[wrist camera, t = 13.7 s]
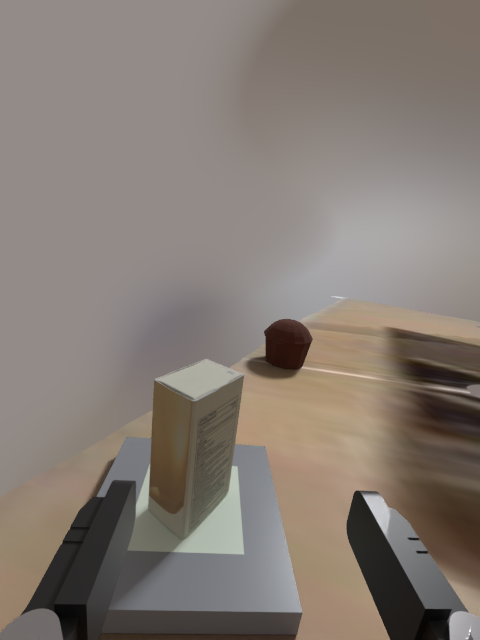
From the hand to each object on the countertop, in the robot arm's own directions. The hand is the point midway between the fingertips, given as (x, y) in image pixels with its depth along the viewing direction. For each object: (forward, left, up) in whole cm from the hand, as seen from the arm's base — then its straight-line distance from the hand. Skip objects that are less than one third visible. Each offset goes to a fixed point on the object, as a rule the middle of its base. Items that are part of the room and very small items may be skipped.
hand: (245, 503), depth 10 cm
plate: (+2, -13, -15) cm, 20 cm away
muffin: (-16, -55, -15) cm, 59 cm away
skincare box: (+2, -13, -13) cm, 18 cm away
